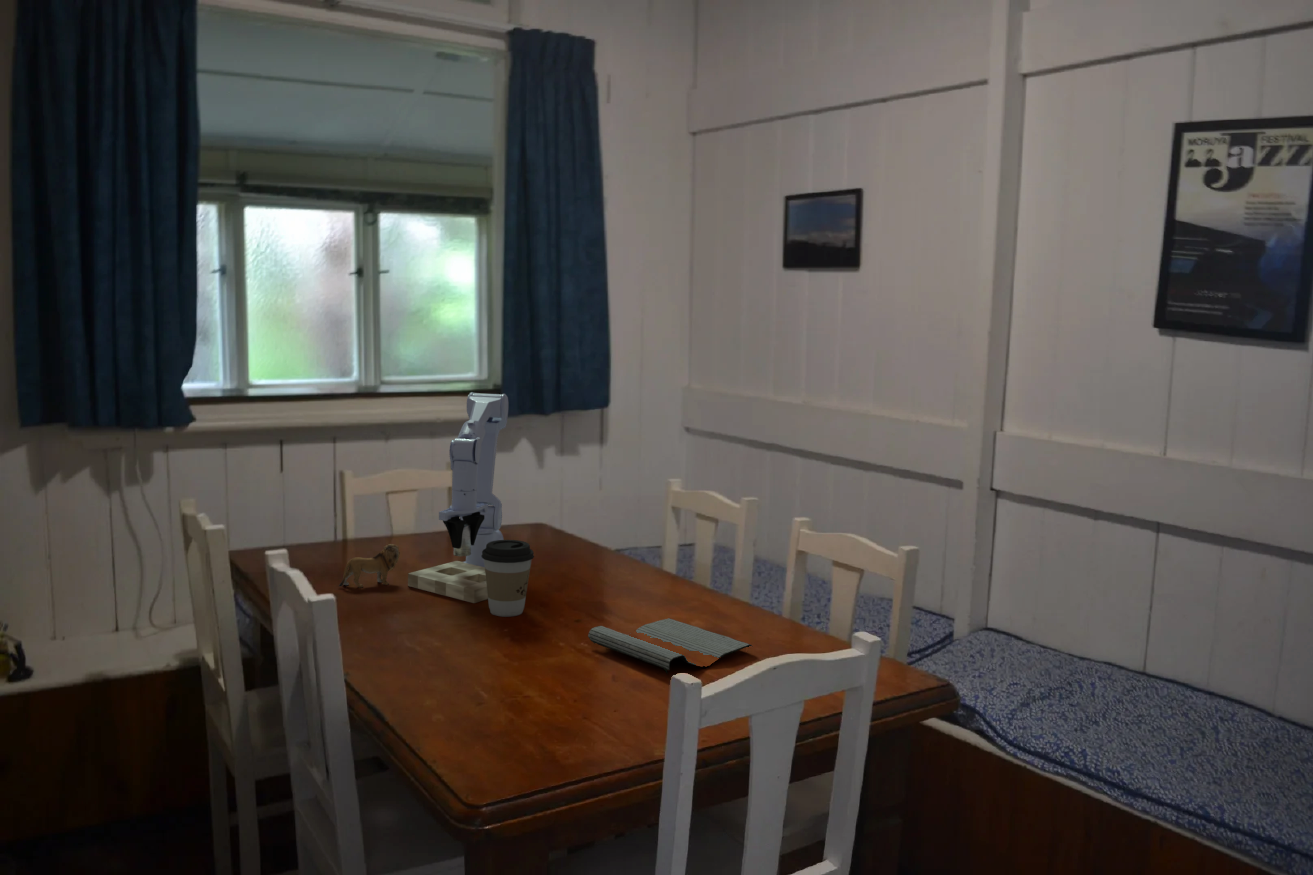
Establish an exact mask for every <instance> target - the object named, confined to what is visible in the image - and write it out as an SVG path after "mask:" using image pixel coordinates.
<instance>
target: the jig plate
mask: <svg viewBox="0 0 1313 875" xmlns="http://www.w3.org/2000/svg"><path fill="white" fill-rule="evenodd" d="M464 562H465V561H459V560H454V561H451V562H447V563H443V564H439V565H435V566H431V567H427V568H423V569H419V570H416V571H412V572H409V573H407V587H410V588H411V587H412V588H414V589H417V590H418V589H419V590H422V591H425V592H426V591H427V592H429V593H430V592H431V593H433V594H437V595H441V596H444V597H450V598H453V599H456V600H460V601H465V602H467V603H472V604H476V603H479V602H482V601H486V600H488V593H487V584H486V574H485V567H481V566H477V565H473V564H469V563H464Z"/></svg>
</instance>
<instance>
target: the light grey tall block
mask: <svg viewBox="0 0 1313 875" xmlns="http://www.w3.org/2000/svg"><path fill="white" fill-rule="evenodd" d="M469 555H471V525H470V524H465V525H464V529H463V533H462V544H461V548H460V549H457V548H453V556H454V557H466V556H469Z"/></svg>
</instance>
